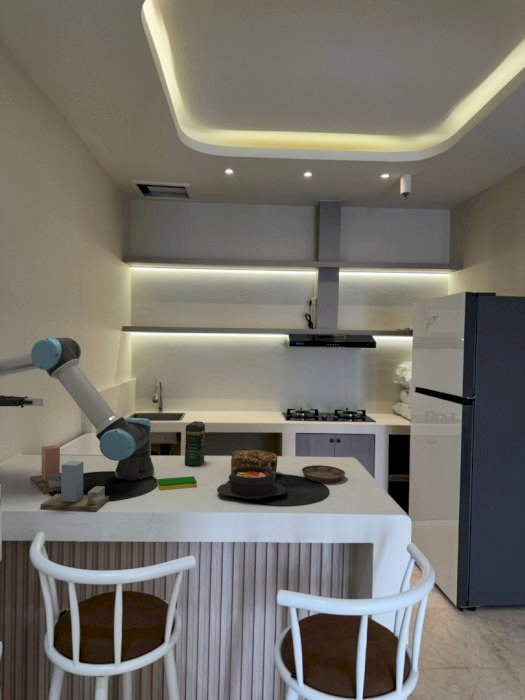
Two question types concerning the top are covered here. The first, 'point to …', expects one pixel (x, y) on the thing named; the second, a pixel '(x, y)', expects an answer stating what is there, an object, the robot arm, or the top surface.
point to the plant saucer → (323, 473)
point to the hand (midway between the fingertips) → (41, 402)
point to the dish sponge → (176, 482)
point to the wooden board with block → (79, 501)
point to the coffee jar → (194, 443)
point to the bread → (254, 459)
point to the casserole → (251, 483)
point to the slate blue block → (72, 481)
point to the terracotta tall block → (50, 460)
